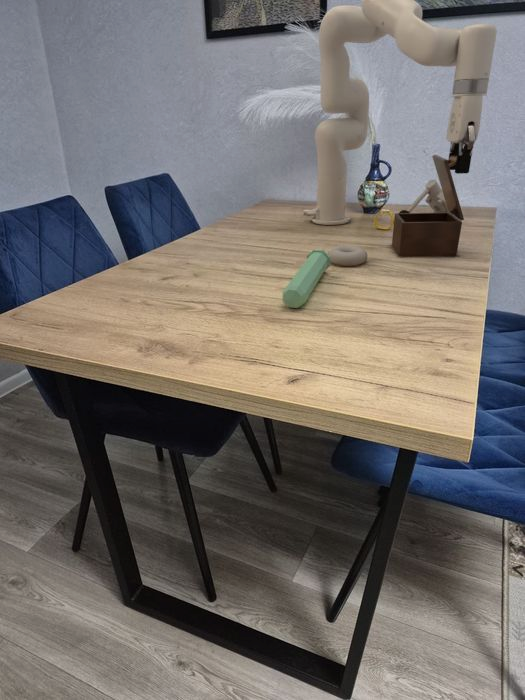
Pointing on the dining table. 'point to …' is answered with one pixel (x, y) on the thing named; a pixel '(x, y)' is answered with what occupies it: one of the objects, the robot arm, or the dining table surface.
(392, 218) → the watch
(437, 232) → the chest
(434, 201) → the valve
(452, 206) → the lid
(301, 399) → the dining table surface
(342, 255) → the donut
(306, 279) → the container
